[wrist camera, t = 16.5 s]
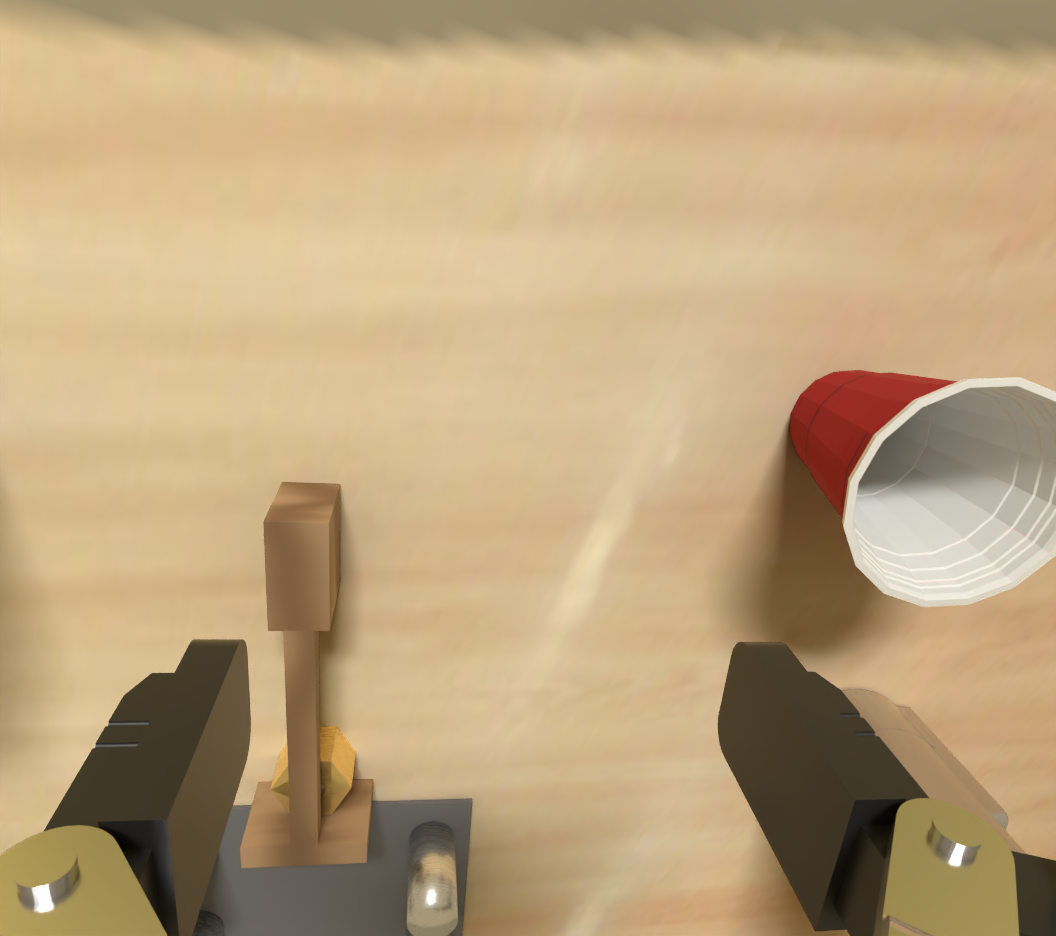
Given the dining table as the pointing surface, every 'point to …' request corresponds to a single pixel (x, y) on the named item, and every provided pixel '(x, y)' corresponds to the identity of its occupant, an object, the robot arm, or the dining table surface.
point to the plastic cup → (935, 478)
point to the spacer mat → (333, 879)
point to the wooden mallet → (304, 688)
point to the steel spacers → (427, 886)
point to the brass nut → (322, 771)
